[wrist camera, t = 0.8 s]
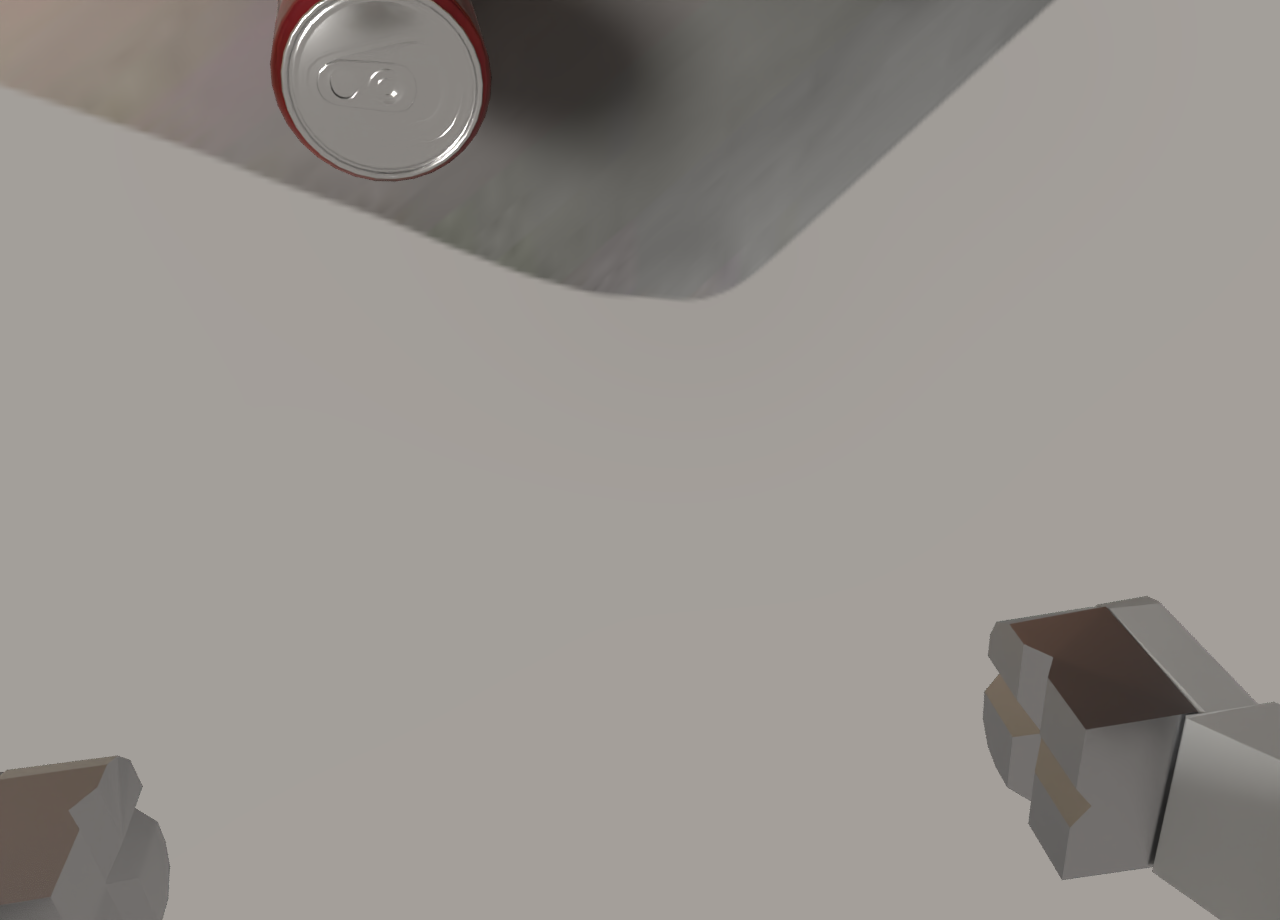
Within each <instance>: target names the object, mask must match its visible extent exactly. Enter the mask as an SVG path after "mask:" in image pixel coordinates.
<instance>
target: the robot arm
mask: <svg viewBox="0 0 1280 920" xmlns="http://www.w3.org/2000/svg"><path fill="white" fill-rule="evenodd" d="M988 656H989V658H990V659H991V661H992V663H993V664H994V666H995V667H996V669H997V670H998V672H999V675H998V676H997V677H996V678H995V679H994V681H993V682H992V683H991V684H990V686H989V687H988V688H987V689H986V690H985V692H984V711H983V721H984V727H985V733H986V738H987V744H988V748H989V750H990V753H991V756H992V758H993V761H994V764H995V766H996V768H997V770H998V772H999V774H1000V775H1001V777H1002V779H1003V780H1004V782H1005V784H1006V786H1007V787H1008V788H1009V789H1011V790H1013V791H1015V792H1016V793H1018V794H1020V795H1021V796H1023V797H1025V798H1027V799H1028V800H1030V801H1031V806H1030V814H1029V825H1030V827H1031V829H1032V830H1033V832H1034V833H1035V835H1036V837H1037V839H1038V840H1039V842H1040V844H1041V845H1042V847H1043V849H1044V850H1045V852H1046V854H1047V855H1048V857H1049V859H1050V860H1051V862H1052V864H1053V865H1054V867H1055V869H1056V871H1057V872H1058V874H1059V876H1060V877H1061V879H1062V880H1066V879H1073V878H1080V877H1086V876H1093V875H1101V874H1107V873H1114V872H1121V871H1128V870H1135V869H1142V868H1149V867H1153V870H1152V872H1153V873H1155V874H1156V875H1158V876H1159V877H1160V878H1162V879H1163V880H1165V881H1166V882H1167V883H1169V884H1170V885H1172V886H1173V887H1175V888H1176V889H1177V890H1179V891H1180V892H1182V893H1183V894H1184V895H1186V896H1187V897H1189V898H1190V899H1192V900H1193V901H1194V902H1196V903H1197V904H1199V905H1200V906H1202V907H1203V908H1204V909H1206V910H1207V911H1209V912H1210V913H1211V914H1213V915H1214V916H1216V917H1217V918H1218V919H1220V920H1280V704H1278V703H1275V702H1271V703H1264V704H1257V702H1256V701H1255V700H1254V699H1253V698H1251V696H1250V695H1249V694H1248V693H1247V692H1246V691H1245V690H1244V689H1243V688H1242V687H1241V686H1240V685H1239V684H1238V683H1237V682H1236V681H1235V680H1234V679H1233V678H1232V677H1231V675H1230V674H1229V673H1228V672H1227V671H1226V670H1225V669H1224V668H1223V667H1222V666H1221V665H1220V664H1219V663H1218V662H1217V661H1216V660H1215V659H1214V658H1213V657H1212V656H1211V655H1210V654H1209V653H1208V652H1207V651H1206V649H1205V648H1204V647H1202V645H1201V644H1200V643H1199V642H1198V641H1197V640H1196V639H1195V638H1194V637H1193V636H1192V635H1191V634H1190V633H1189V632H1188V631H1187V630H1186V629H1185V628H1184V627H1183V626H1182V625H1181V623H1179V621H1177V619H1176V618H1175V617H1174V616H1173V615H1172V614H1171V613H1170V612H1169V611H1168V610H1167V609H1166V608H1165V607H1164V606H1163V605H1162V604H1161V603H1160V602H1159V601H1157V600H1155V599H1152V598H1150V597H1148V596H1144V597H1139V598H1133V599H1127V600H1121V601H1116V602H1110V603H1104V604H1098V605H1096V606H1095V607H1087V608H1081V609H1075V610H1068V611H1062V612H1056V613H1050V614H1043V615H1037V616H1030V617H1024V618H1018V619H1012V620H1006V621H999V622H996V624H995V626H994V628H993V630H992V632H991V634H990V642H989V651H988ZM142 787H143V786H142V784H141V782H140V780H139V778H138V776H137V774H136V771H135V769H134V767H133V765H132V763H131V761H130V760H129V759H126V758H123V757H120V756H112V757H104V758H96V759H88V760H80V761H72V762H66V763H57V764H49V765H42V766H34V767H26V768H18V769H11V770H6V771H5V772H0V920H162V919H163V915H164V912H165V908H166V905H167V901H168V892H169V872H170V864H169V858H168V853H167V847H166V842H165V839H164V837H163V834H162V832H161V829H160V827H159V824H158V822H157V821H155V820H154V819H152V818H150V817H149V816H147V815H146V814H144V813H142V812H141V811H139V810H137V809H136V808H135V806H136V803H137V801H138V798H139V795H140V792H141V790H142Z"/></svg>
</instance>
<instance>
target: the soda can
mask: <svg viewBox="0 0 1280 920" xmlns="http://www.w3.org/2000/svg"><path fill="white" fill-rule="evenodd" d="M270 66H271V80H272V87H273V90H274V94H275V98H276V101H277V105H278V107H279V109H280V111H281V113H282V115H283V117H284V119H285V121H286V123H287V125H288V126H289V127H290V129H291V130H292V131H293V133H294V134H295V135H296V137H297V138H298V139H299V140H300V142H301V143H302V144H303V145H305V146H306V147H307V148H308V149H309V150H310V151H311V152H312V153H313V154H314V155H316V156H317V157H318V158H320V159H321V160H323V161H324V162H326V163H328V164H329V165H331V166H332V167H334V168H336V169H338V170H340V171H343V172H345V173H348V174H350V175H353V176H355V177H360V178H365V179H369V180H374V181H401V180H408V179H415V178H418V177H421V176H424V175H427V174H429V173H432V172H434V171H436V170H438V169H440V168H441V167H443V166H445V165H447V164H448V163H450V162H451V161H452V160H453V159H454V158H456V157H457V156H458V155H459V154H460V153H461V152H463V151H464V150H465V149H466V147H467V146H468V145H469V143H470V142H471V141H472V140H473V138H474V137H475V136H476V134H477V133H478V130H479V128H480V126H481V124H482V122H483V120H484V118H485V116H486V112H487V108H488V105H489V101H490V95H491V70H490V63H489V57H488V53H487V50H486V46H485V43H484V40H483V36H482V33H481V30H480V26H479V23H478V20H477V16H476V13H475V10H474V6H473V3H472V0H278V5H277V13H276V21H275V29H274V37H273V45H272V53H271V61H270Z"/></svg>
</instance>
